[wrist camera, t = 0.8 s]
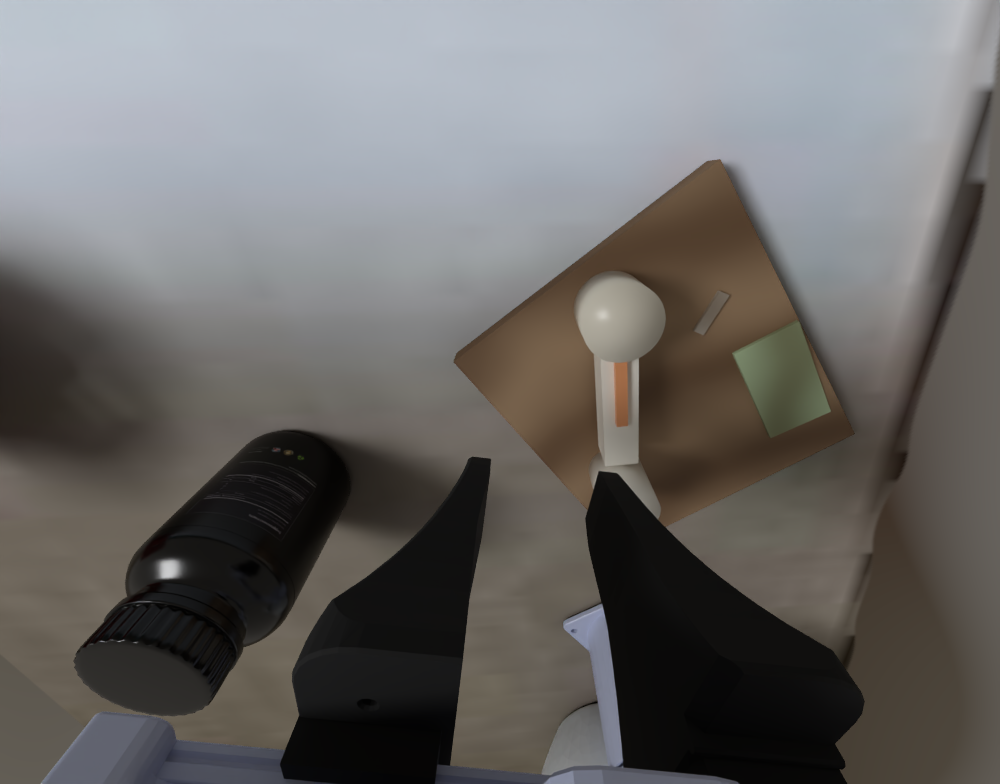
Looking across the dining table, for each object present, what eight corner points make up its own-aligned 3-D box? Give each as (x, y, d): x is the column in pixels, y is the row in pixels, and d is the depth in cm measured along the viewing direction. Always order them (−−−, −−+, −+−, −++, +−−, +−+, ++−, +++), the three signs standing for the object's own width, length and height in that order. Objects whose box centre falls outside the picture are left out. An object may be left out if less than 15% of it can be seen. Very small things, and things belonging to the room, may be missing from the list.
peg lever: (644, 485, 23) (664, 531, 20) (586, 491, 23) (597, 537, 20) (646, 265, 17) (674, 282, 14) (571, 276, 18) (582, 295, 15)
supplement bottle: (344, 526, 27) (233, 747, 16) (240, 497, 26) (51, 710, 16) (364, 446, 24) (245, 653, 13) (247, 410, 23) (20, 601, 13)
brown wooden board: (838, 421, 22) (857, 435, 21) (617, 533, 27) (622, 550, 25) (707, 161, 17) (722, 159, 16) (456, 353, 21) (453, 363, 20)
